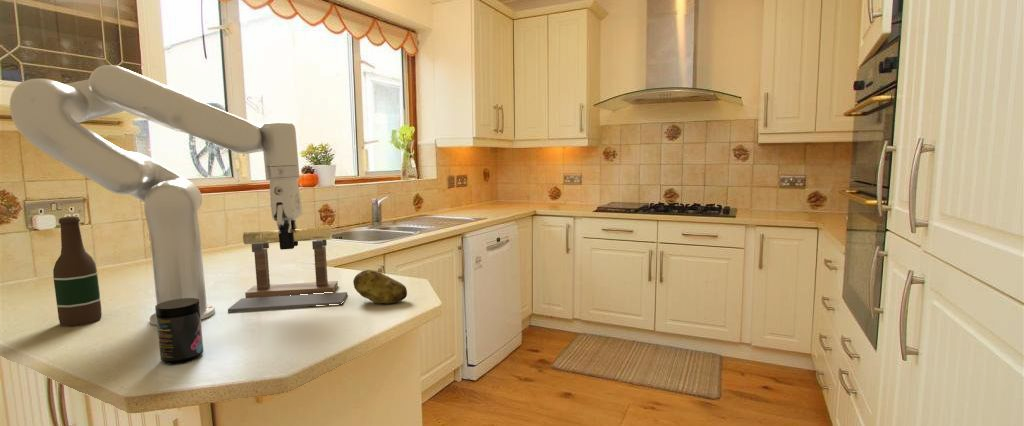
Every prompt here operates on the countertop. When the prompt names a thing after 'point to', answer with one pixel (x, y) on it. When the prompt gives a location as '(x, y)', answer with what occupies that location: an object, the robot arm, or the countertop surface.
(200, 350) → the supplement container
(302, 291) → the hook stand
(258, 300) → the mat
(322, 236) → the rail
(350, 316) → the countertop surface
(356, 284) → the potato
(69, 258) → the beer bottle
